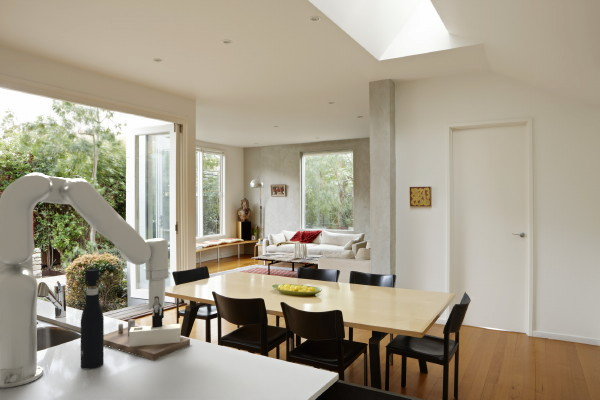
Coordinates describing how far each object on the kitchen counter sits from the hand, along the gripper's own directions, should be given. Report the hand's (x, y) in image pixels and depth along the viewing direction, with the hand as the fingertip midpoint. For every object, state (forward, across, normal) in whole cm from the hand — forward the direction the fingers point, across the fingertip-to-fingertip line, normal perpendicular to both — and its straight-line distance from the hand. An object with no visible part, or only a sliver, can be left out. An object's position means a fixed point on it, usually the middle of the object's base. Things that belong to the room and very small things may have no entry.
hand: (158, 322), depth 145 cm
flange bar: (+7, 0, -1) cm, 7 cm away
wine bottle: (+8, +11, -19) cm, 24 cm away
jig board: (+9, -5, -6) cm, 11 cm away
